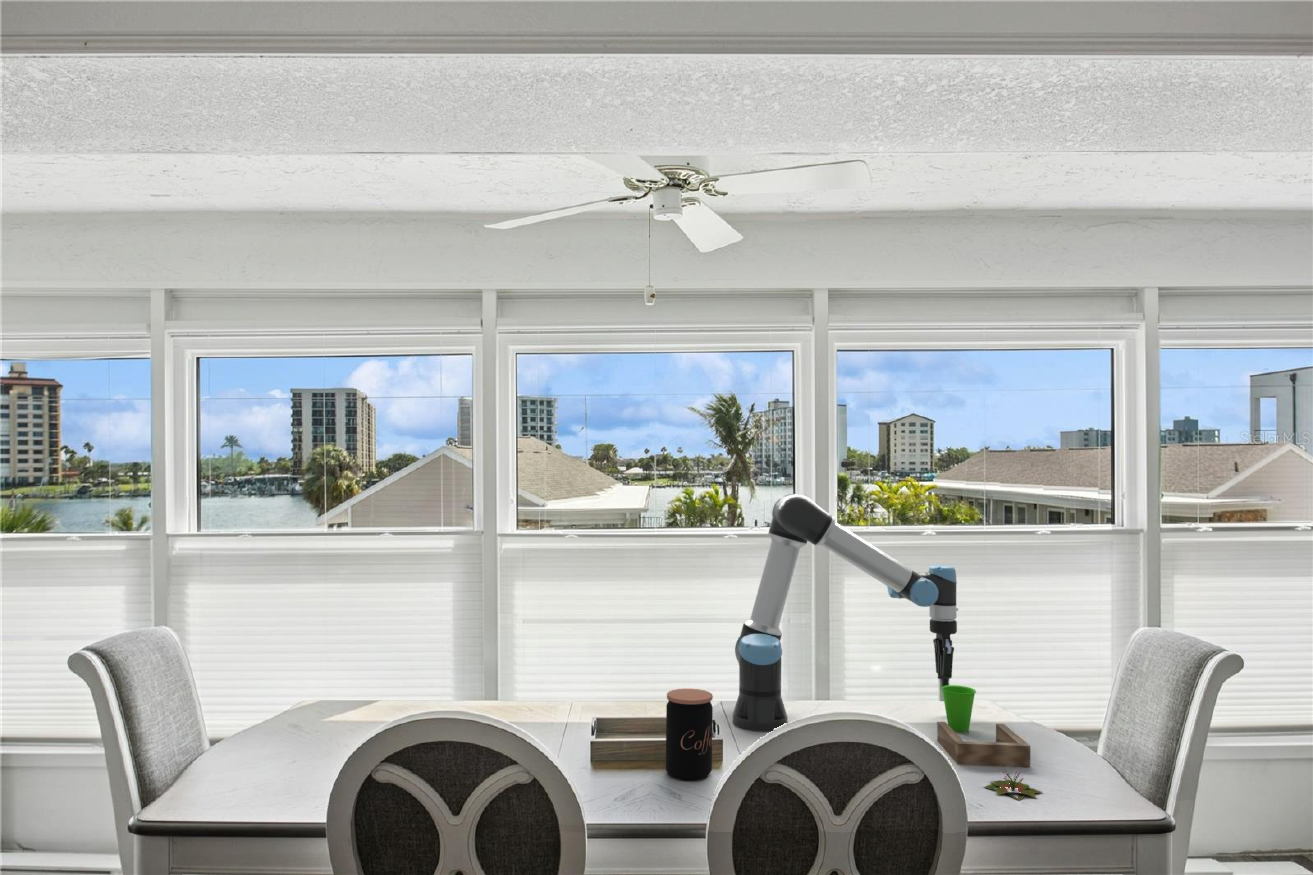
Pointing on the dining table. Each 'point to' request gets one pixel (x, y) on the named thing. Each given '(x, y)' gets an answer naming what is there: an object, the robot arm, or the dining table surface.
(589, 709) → the dining table surface
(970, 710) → the cup
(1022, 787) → the lily flower
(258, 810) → the dining table surface
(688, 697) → the coffee jar
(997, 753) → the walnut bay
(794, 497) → the robot arm
